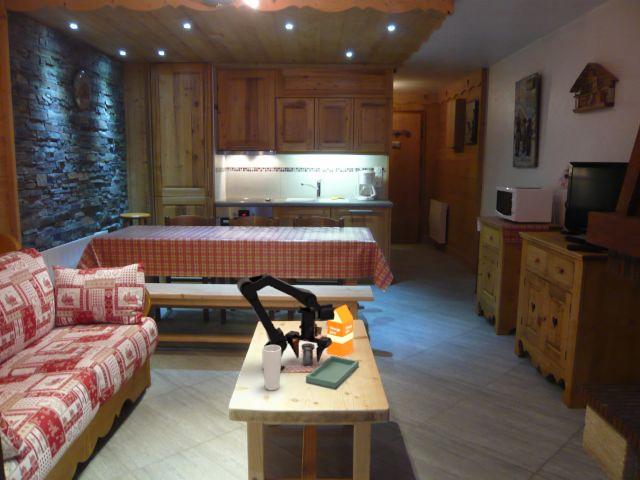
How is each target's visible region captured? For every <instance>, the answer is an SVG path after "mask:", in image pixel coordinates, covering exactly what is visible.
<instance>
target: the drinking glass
mask: <svg viewBox="0 0 640 480" xmlns="http://www.w3.org/2000/svg"><path fill="white" fill-rule="evenodd" d="M261 352H262V355H261V356H262V357H261V358H262V369H263V370H264V371H263V370H262V371H263V377H264V388H265V389H266V390H268V391H276V390H278V389H279V388H280V387H281V386H280V382H281V371H282V370H281V366H282V357H281V347H280V346H278V345H267V346H264V345H263V347H262V351H261Z"/></svg>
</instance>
